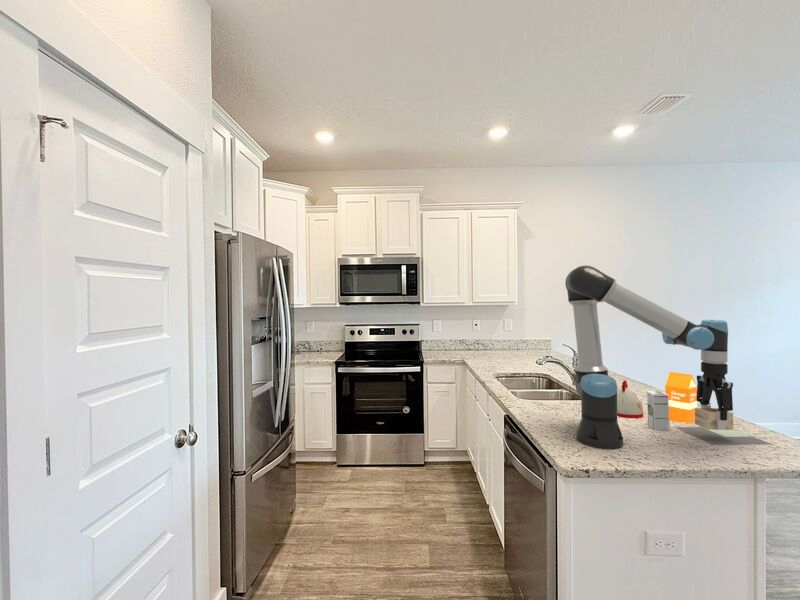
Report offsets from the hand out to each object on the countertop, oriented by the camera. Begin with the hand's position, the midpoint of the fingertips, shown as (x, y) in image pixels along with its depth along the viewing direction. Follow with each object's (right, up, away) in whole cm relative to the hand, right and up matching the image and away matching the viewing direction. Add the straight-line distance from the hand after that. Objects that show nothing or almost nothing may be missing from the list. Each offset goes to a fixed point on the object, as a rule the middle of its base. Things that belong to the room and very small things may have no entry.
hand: (713, 425), depth 140 cm
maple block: (0, 0, 0) cm, 0 cm away
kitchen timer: (-12, -6, +34) cm, 37 cm away
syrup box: (-11, -6, +13) cm, 18 cm away
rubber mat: (+6, -5, +4) cm, 9 cm away
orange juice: (+6, -6, +24) cm, 25 cm away
